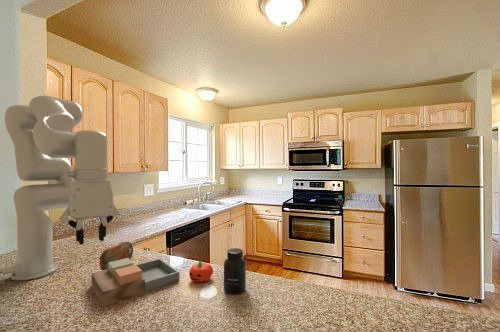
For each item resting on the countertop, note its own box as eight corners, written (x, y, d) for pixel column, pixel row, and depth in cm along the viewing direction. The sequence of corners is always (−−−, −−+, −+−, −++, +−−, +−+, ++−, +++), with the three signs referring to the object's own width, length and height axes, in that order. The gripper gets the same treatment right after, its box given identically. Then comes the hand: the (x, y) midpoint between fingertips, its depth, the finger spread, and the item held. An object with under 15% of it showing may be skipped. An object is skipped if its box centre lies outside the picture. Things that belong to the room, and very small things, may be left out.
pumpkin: (214, 283, 79) (215, 265, 79) (189, 287, 77) (189, 268, 76) (211, 272, 86) (211, 254, 85) (188, 275, 84) (188, 257, 83)
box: (145, 292, 73) (145, 282, 73) (129, 275, 85) (129, 266, 85) (179, 280, 80) (179, 271, 80) (160, 266, 92) (160, 258, 92)
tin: (105, 276, 84) (105, 251, 84) (97, 275, 85) (97, 251, 85) (133, 259, 99) (133, 239, 99) (127, 259, 100) (127, 238, 100)
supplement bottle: (228, 297, 70) (228, 256, 70) (220, 287, 76) (220, 249, 76) (249, 291, 73) (249, 252, 73) (240, 282, 79) (240, 245, 79)
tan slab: (102, 306, 65) (102, 292, 65) (91, 285, 77) (91, 273, 77) (144, 292, 73) (144, 279, 73) (128, 275, 85) (128, 263, 85)
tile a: (120, 285, 69) (120, 276, 69) (114, 278, 74) (114, 269, 74) (142, 278, 73) (142, 270, 73) (135, 272, 78) (135, 264, 78)
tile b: (113, 276, 75) (113, 268, 75) (108, 270, 79) (108, 262, 80) (133, 270, 79) (133, 262, 79) (128, 265, 84) (128, 257, 84)
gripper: (53, 177, 59) (53, 252, 59) (128, 175, 70) (128, 238, 70) (51, 176, 64) (51, 245, 64) (120, 174, 76) (120, 233, 76)
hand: (91, 241), depth 67 cm, fingers open, 4 cm apart
